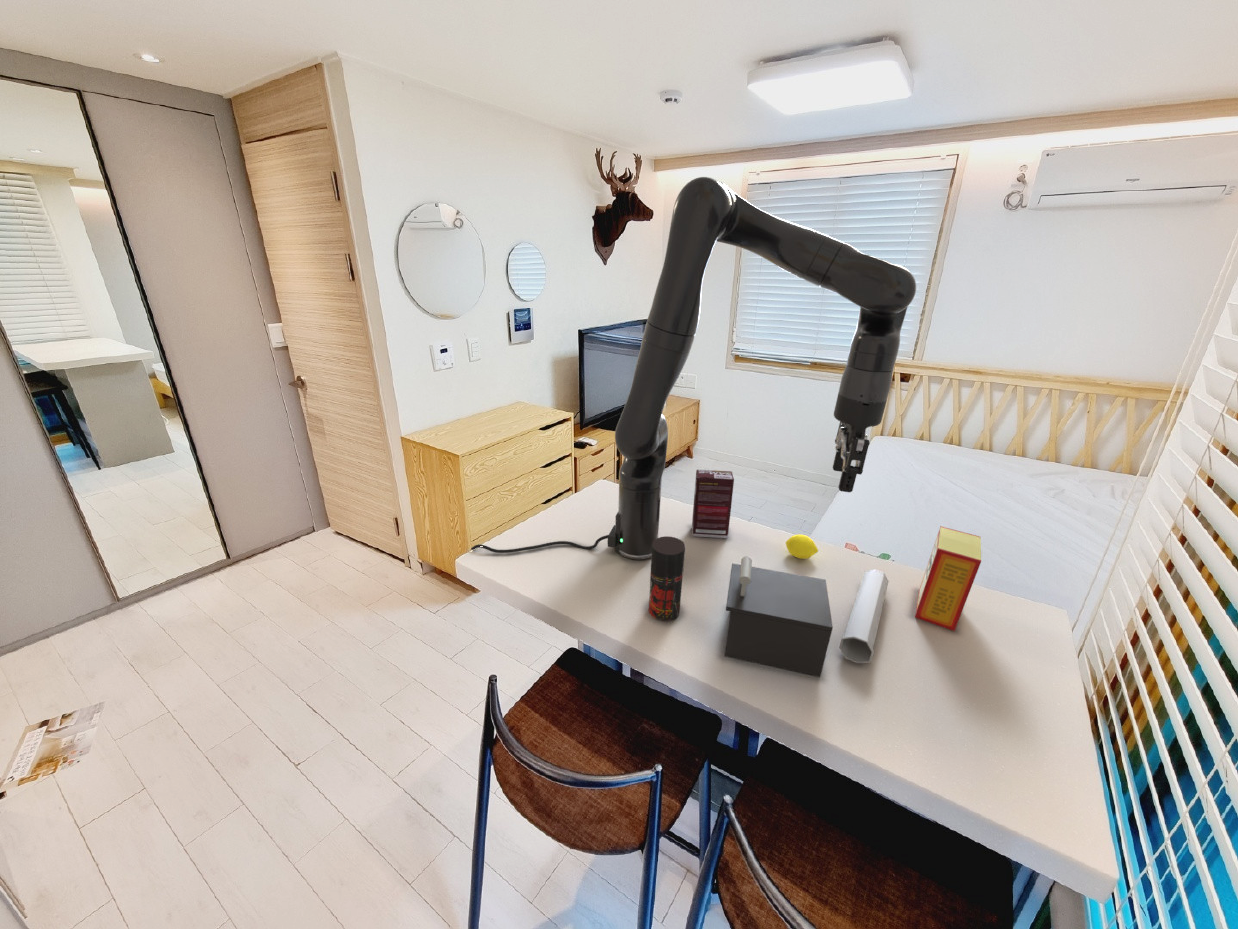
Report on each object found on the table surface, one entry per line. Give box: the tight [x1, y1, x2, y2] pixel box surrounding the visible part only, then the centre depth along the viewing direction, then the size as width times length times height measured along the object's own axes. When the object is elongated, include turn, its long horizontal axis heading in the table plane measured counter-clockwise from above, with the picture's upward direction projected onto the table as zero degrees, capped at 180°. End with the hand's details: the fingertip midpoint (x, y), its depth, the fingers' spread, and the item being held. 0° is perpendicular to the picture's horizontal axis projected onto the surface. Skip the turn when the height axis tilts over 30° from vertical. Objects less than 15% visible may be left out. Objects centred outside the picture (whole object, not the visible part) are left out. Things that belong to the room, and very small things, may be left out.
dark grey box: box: [724, 611, 833, 678], centre depth 88 cm, size 16×13×10 cm
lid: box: [725, 555, 834, 632], centre depth 85 cm, size 16×13×5 cm
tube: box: [839, 568, 890, 664], centre depth 95 cm, size 5×5×25 cm
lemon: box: [785, 534, 819, 560], centre depth 113 cm, size 7×5×5 cm
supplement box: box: [691, 469, 735, 539], centre depth 119 cm, size 9×5×16 cm, turn 84°
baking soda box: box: [914, 525, 982, 632], centre depth 95 cm, size 10×6×16 cm
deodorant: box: [648, 535, 686, 623], centre depth 93 cm, size 6×6×15 cm
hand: (841, 480), depth 90 cm, fingers open, 8 cm apart
